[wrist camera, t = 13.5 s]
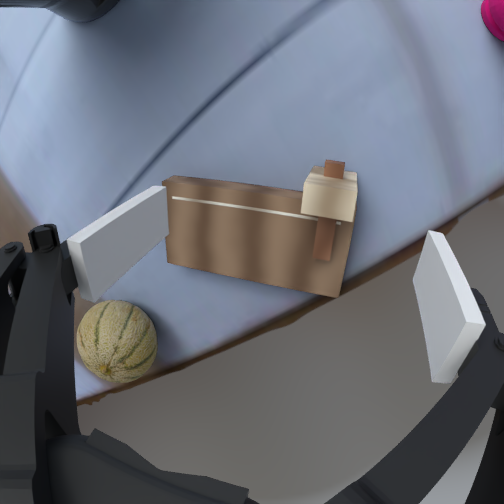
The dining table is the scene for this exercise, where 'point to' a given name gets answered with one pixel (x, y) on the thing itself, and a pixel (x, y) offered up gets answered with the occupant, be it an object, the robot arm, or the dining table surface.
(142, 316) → the cantaloupe
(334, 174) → the marking gauge
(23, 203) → the dining table surface
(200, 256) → the walnut board
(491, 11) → the pepper mill
